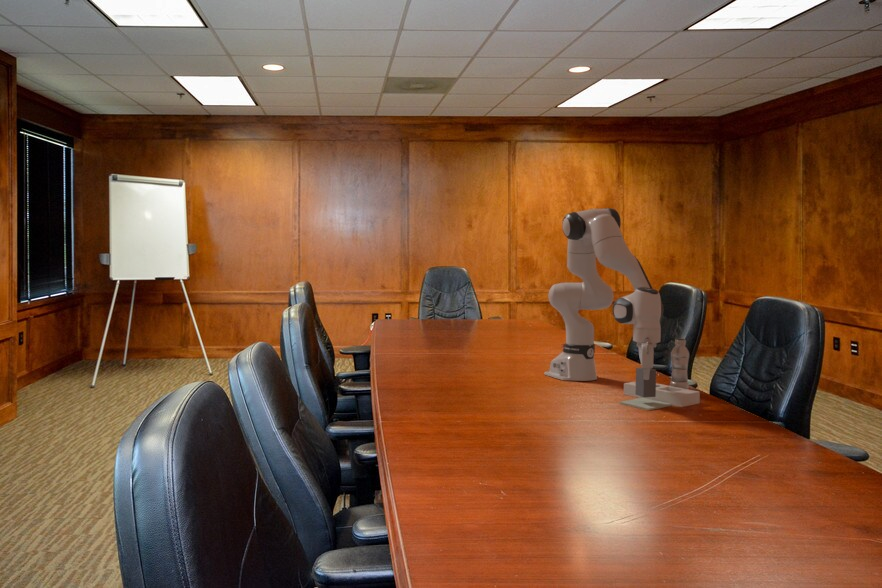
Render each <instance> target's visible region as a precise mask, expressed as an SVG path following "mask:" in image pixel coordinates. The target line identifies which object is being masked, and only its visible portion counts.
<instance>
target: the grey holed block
mask: <svg viewBox="0 0 882 588" xmlns="http://www.w3.org/2000/svg"><path fill="white" fill-rule="evenodd" d="M635 393H636V381H631V382H624V383H623V395H625V396H629V397H633V398H647V399H651V400H656V401H660V402H665V403H669V404H672V406H673V407H674V406H675V407H679V408H684V407H689V406H693V405H698V404H700V400H701V399H700V397H701V396H700V394H701V391H698V390H693V389H683V388H678V387H673V386H670V385H666V384H663V383H662V384H660V383H657V382H656V397H641V396H639V395H636V394H635Z"/></svg>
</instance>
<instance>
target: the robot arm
mask: <svg viewBox="0 0 882 588" xmlns="http://www.w3.org/2000/svg"><path fill="white" fill-rule="evenodd" d="M621 220H622V219H621V216H620V214H619V212H618V211H617V210H616V209H614V208H612V207H611V208H609V207H605V208H590V209H586V210H580V211H577V212H576V211H572V212H569V213H567V214H566V215H564V217H563V219H562V227H561V228H562V232H563V234H564V237H566V238H567V250H566V252H567V253H566V254H567V255H566V256H567V257H566V267H567V270H568V271H569V272H570V273H571V274H572V275H574V276H576V277H578V278H580V279H581V280H582V282H560V283H555V284H552V286H551V287H550V289H549V291H548V294H547V296H548V301H549V304H550V305H551V306H552V307H553V308H554V309H555V310H556V311H557V312H559V314H560V316H561V317H562V320H563V322H564V324H565V325H564V326H565V343H564V344H563V343H562V344H561V348H562V352H560V353H559V354H558V355H557V356H555V357H554V358H553V359H552V360H550V361H551V362H550V364H549V366H550V367H549V370H546V371H545V372H543V374H544V375H545V376H547V377H551V378H555V379H558V380H561V381H576V382H577V381H578V382H579V381H580V382H583V381H584V382H585V381H586V382H589V381H595V380H598V376H597V371H596V370H597V369H596V363H595V361H596V360H595V352H596V350H595V349H596V347H595V346H596V345H595V343H594V342H595V327H594V324H593V323H592V322H591V320H589V319H586V317H583V316H581V315H580V314H579V311H581V310H586V311H589V310H590V311H598V310H605V309H609V307H611V305H612V304H613V306H612V315H613V319H615V321H616V322H617V323H619V324H622V325H633V326H632V328H633V329H632V341H633V342H635V343H636V347H638V356H639V361H640V366H641V368H643V373H644V376H643V378H644V380H649V374H650V368H651V369H654V359H655V358H654V355H655V353H654V352H655V351H654V349H655V348H656V347H657V344H658V343H661V338H662V337H661V336H662V334H661V331H662V330H661V329H662V327H661V318H662V317H663V315H664V304H663V302H662V299H661V295H660V292H659V291H658V290H657V289H655V288H653V286H652V283H651V282H650V280H649V279H648V276H647V273H646V272H645V269H644V268H643V265H642V264H641V262H640V261H639V259H638V257H636V256H635V255H634V254H633V252H631V250H630V248H629V247H628V246H627V244H626V241H625V239H624V236H623V234H622V231H621ZM596 260H597V261H596ZM597 262H599V264H600V265H602V266H603V267H605V268H607V269H610V270H613V271H616V272H618V273H620V274H622V275H624V276H625V277H626V278H627V279H628V280H629V282H630V284H631V286H632V287H633V290H634V291H633V292H632V293H630V294H627V295H624V296H621V297H617V299H616V300H615V301H614V291H613V289H612V287H611V286H610V285H609V284H607V282H605V281H604V280H603V279H602V278H601V277H600V275H599V272H598V269H597Z"/></svg>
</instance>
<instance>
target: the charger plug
mask: <svg viewBox="0 0 882 588" xmlns="http://www.w3.org/2000/svg"><path fill="white" fill-rule="evenodd" d="M643 376H644V373H643V368H642V367H636V368H635V382H636V393H635V394H636V395H639V396H641V397H656V383H657V370H656V369H654V368H650V374H649V380H644V378H643Z"/></svg>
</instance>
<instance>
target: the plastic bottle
mask: <svg viewBox="0 0 882 588" xmlns="http://www.w3.org/2000/svg"><path fill="white" fill-rule="evenodd" d="M674 339H675V340H674V345H675V346H673V348H672V350H671V352H670V359H671V377H670V378H671V379H670V383H669V386H673V387H678V388H683V389H688V390H690V387H689V379H688V378H689V377H688V367H689V360H690V351H689V350H688V348H687V347H686V345H687V341H686V338H685V339H684V338H674Z"/></svg>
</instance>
